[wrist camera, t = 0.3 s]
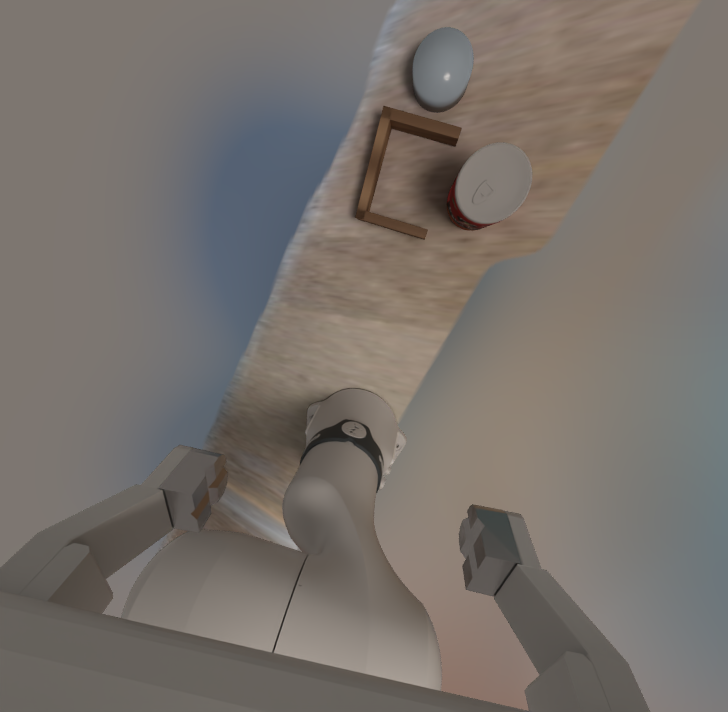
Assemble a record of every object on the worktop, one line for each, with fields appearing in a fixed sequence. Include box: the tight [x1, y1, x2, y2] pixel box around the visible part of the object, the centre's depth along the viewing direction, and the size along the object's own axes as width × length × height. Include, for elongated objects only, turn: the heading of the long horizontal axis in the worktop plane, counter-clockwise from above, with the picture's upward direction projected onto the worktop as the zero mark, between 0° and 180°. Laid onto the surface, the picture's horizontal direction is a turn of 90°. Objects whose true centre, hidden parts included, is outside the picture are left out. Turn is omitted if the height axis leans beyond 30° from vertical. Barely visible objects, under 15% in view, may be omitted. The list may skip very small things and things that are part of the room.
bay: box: [355, 106, 462, 239], centre depth 43 cm, size 13×10×3 cm
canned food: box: [447, 143, 532, 230], centre depth 39 cm, size 8×8×11 cm
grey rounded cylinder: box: [413, 27, 474, 113], centre depth 39 cm, size 7×7×4 cm
